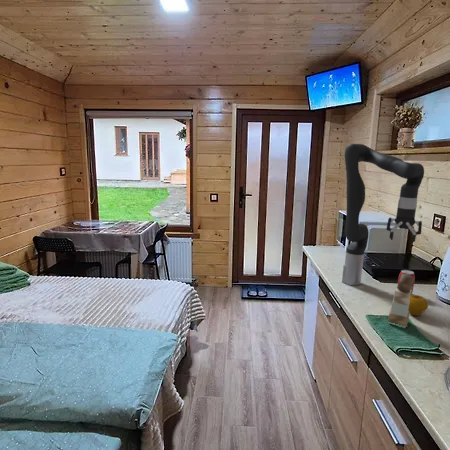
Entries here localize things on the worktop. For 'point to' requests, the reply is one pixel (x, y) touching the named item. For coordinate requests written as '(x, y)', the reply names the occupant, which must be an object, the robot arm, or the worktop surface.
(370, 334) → the worktop surface
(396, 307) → the tower mid
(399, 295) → the tower top
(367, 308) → the worktop surface
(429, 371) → the worktop surface
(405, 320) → the tower base
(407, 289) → the walnut cylinder
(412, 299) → the apple
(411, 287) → the soda can
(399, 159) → the robot arm
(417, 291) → the worktop surface
